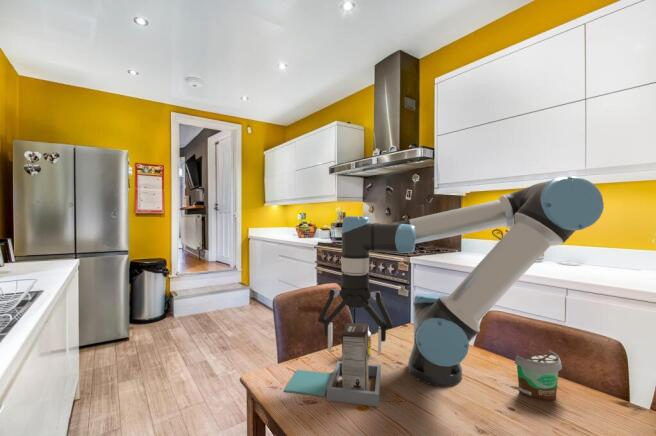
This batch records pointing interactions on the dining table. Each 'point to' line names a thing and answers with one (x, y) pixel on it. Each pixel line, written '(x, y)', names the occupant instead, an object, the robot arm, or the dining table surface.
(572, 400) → the dining table surface
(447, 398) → the dining table surface
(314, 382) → the mat
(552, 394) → the food container
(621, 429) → the dining table surface
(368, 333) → the supplement bottle
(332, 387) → the square frame
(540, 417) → the dining table surface
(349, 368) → the coffee box
